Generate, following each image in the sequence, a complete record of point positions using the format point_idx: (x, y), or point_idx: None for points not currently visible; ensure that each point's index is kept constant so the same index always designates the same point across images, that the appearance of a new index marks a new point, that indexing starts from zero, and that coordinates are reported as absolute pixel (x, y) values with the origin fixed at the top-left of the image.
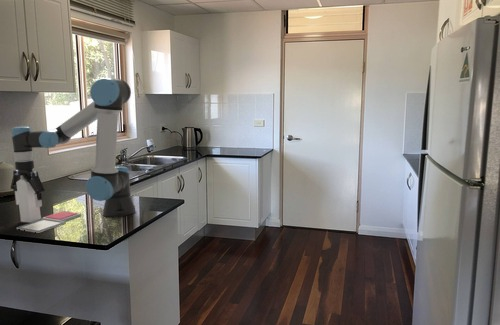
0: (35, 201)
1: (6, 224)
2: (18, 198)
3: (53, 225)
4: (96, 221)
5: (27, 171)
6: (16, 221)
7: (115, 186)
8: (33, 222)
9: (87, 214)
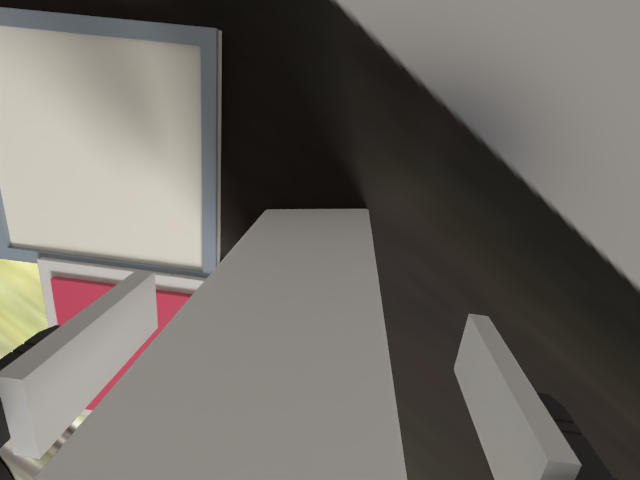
0: (108, 306)
1: (434, 118)
2: (376, 308)
3: None
4: None
5: None
6: (416, 208)
7: None
8: (204, 186)
9: (70, 429)
